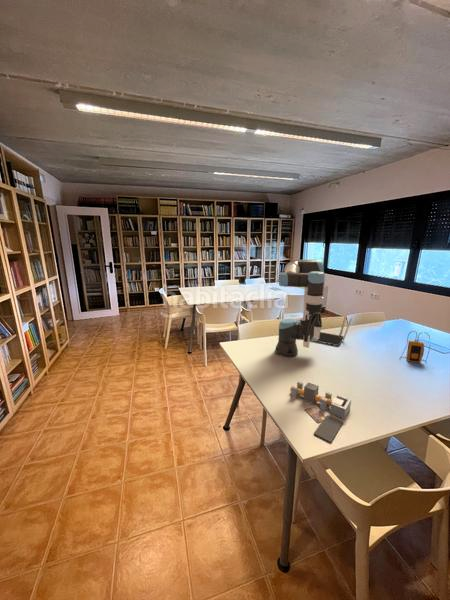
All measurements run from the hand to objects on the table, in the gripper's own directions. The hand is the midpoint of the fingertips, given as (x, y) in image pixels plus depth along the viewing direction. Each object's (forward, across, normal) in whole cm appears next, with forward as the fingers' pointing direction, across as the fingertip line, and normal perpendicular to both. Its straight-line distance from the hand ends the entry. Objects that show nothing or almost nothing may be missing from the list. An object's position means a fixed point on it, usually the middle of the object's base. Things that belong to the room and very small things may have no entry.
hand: (311, 342), depth 127 cm
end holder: (+22, -15, -20) cm, 34 cm away
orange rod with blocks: (+22, -14, -9) cm, 28 cm away
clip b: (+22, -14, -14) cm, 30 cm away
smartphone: (+22, -28, -20) cm, 42 cm away
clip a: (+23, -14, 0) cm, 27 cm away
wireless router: (+26, +71, +15) cm, 77 cm away
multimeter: (+25, +70, -40) cm, 85 cm away
